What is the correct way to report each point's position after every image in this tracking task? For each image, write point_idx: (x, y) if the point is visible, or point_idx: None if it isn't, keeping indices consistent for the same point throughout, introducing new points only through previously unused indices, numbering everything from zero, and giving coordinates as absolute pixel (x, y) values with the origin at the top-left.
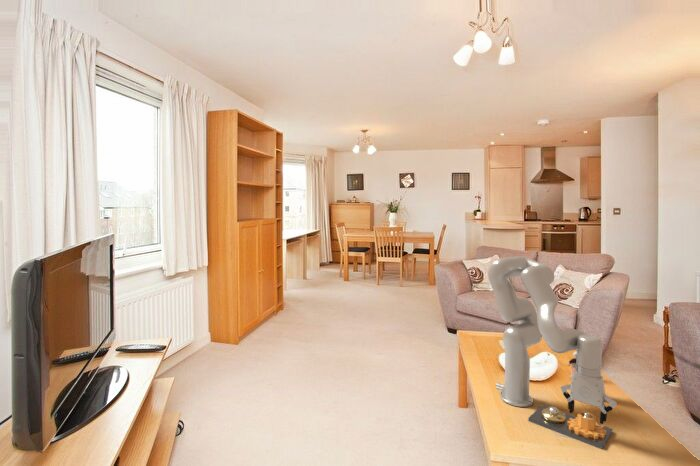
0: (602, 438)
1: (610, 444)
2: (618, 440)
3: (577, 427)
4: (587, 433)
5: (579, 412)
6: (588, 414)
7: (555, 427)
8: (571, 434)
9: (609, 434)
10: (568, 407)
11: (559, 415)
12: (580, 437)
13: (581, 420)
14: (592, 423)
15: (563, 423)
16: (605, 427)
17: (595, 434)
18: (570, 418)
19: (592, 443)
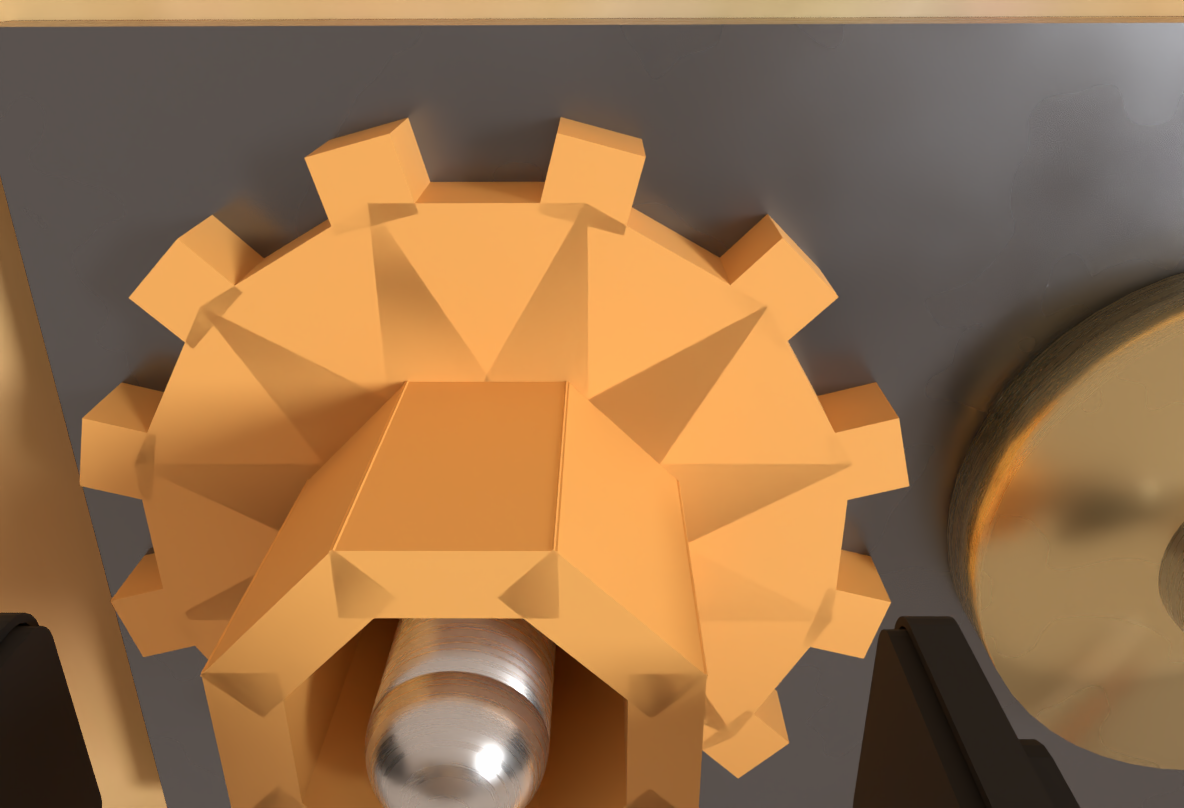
0: (126, 376)
1: (21, 363)
2: (13, 598)
3: (634, 342)
4: (349, 219)
5: (681, 773)
6: (393, 784)
7: (1120, 52)
8: (696, 22)
9: (118, 620)
10: (1047, 776)
11: (1123, 572)
12: (474, 26)
13: (547, 487)
14: (279, 558)
15: (967, 405)
16: None
17: (201, 319)
18: (870, 627)
19: (200, 24)
